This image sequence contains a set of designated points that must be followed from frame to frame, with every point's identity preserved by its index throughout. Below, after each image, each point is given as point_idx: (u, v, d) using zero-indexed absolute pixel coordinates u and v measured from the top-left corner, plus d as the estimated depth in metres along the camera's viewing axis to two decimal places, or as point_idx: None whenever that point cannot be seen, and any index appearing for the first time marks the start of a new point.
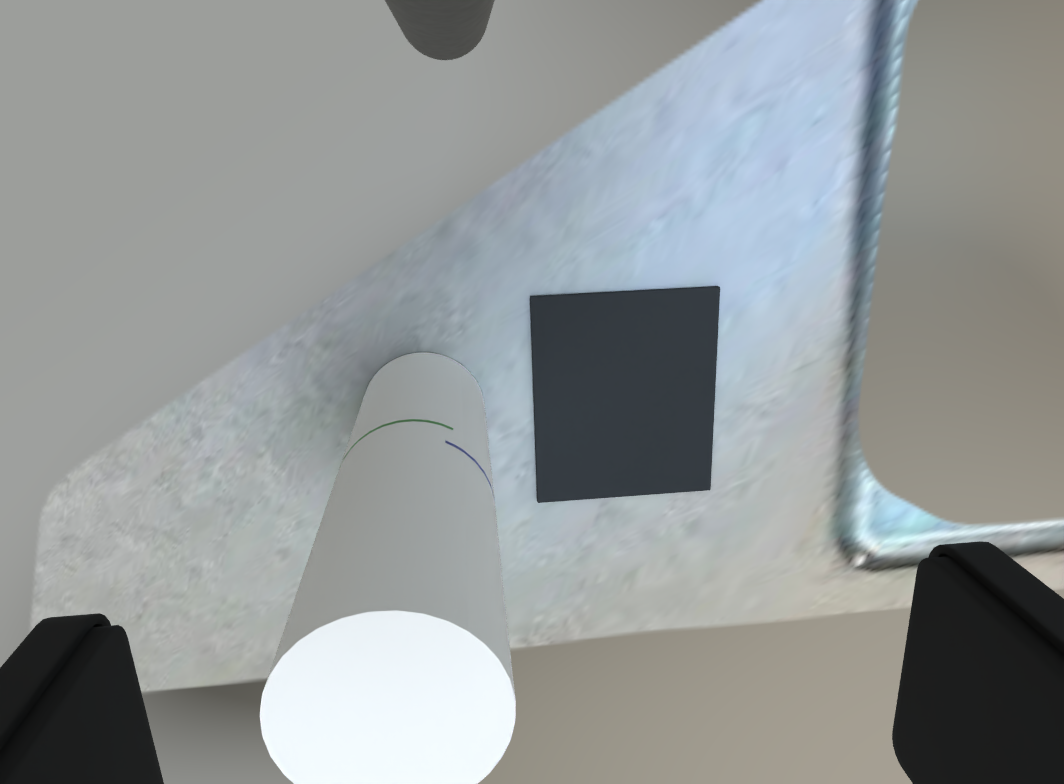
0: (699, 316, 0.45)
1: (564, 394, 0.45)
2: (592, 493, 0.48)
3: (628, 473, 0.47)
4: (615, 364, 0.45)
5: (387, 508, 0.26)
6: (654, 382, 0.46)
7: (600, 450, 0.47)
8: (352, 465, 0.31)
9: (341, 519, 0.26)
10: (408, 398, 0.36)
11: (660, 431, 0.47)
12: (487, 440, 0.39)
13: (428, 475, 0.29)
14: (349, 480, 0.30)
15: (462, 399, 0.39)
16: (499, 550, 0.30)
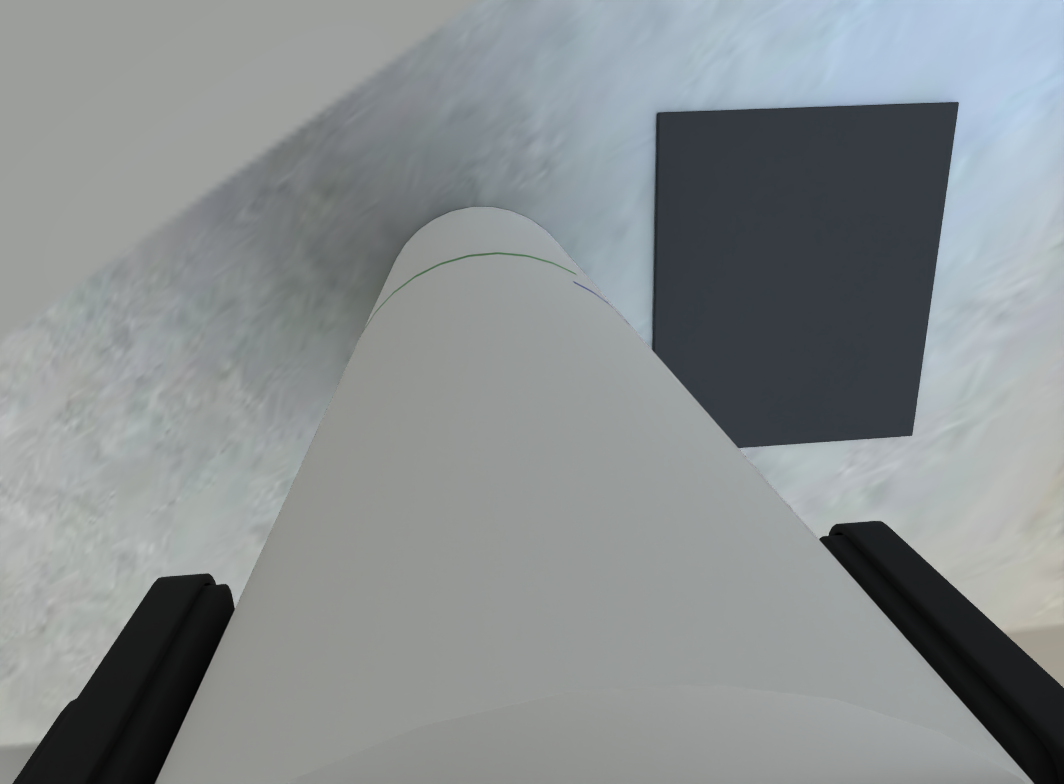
0: (922, 152, 0.28)
1: (704, 279, 0.29)
2: (736, 439, 0.31)
3: (792, 408, 0.31)
4: (786, 230, 0.28)
5: (498, 358, 0.09)
6: (843, 261, 0.29)
7: (752, 371, 0.30)
8: (385, 320, 0.15)
9: (371, 397, 0.10)
10: (479, 237, 0.20)
11: (846, 341, 0.30)
12: None
13: (572, 315, 0.12)
14: (382, 337, 0.13)
15: (566, 254, 0.22)
16: None
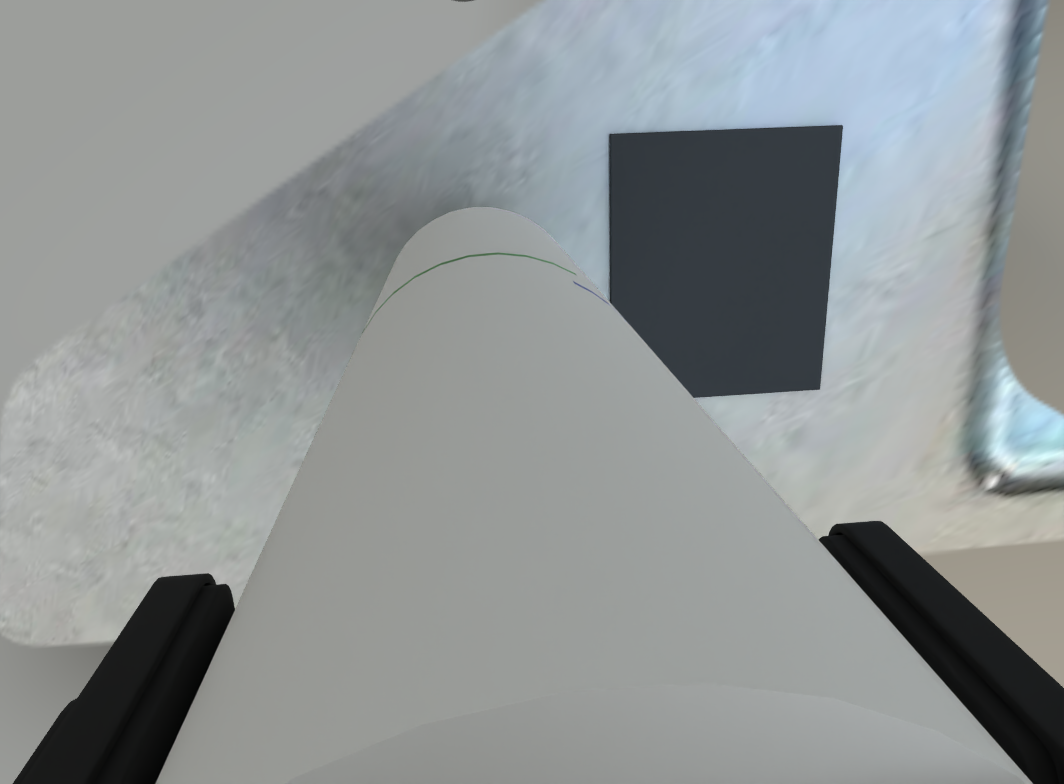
0: (816, 163, 0.36)
1: (648, 263, 0.37)
2: None
3: (722, 366, 0.39)
4: (712, 224, 0.37)
5: (498, 358, 0.09)
6: (758, 249, 0.37)
7: (689, 336, 0.38)
8: (385, 320, 0.15)
9: (370, 397, 0.10)
10: (479, 237, 0.20)
11: (763, 312, 0.38)
12: None
13: (571, 314, 0.12)
14: (382, 338, 0.13)
15: (566, 255, 0.22)
16: None
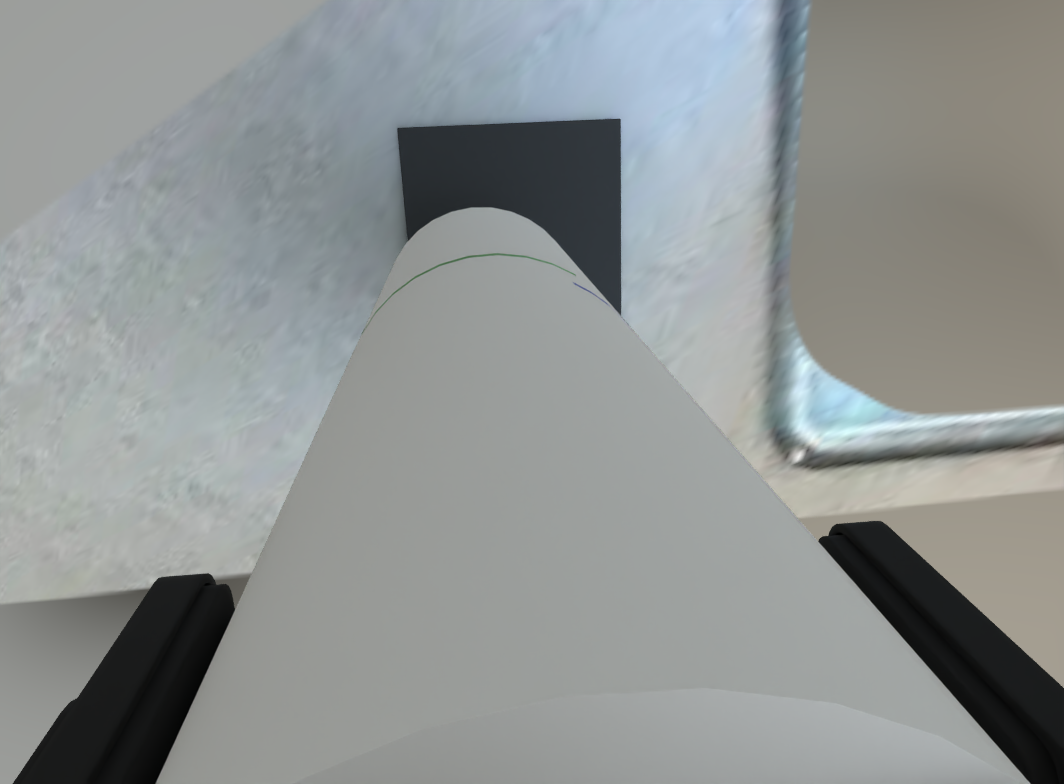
0: (598, 155, 0.38)
1: None
2: None
3: None
4: None
5: (497, 360, 0.09)
6: None
7: None
8: (385, 321, 0.15)
9: (370, 398, 0.10)
10: (479, 237, 0.20)
11: None
12: None
13: (571, 316, 0.12)
14: (381, 339, 0.13)
15: (566, 255, 0.22)
16: None
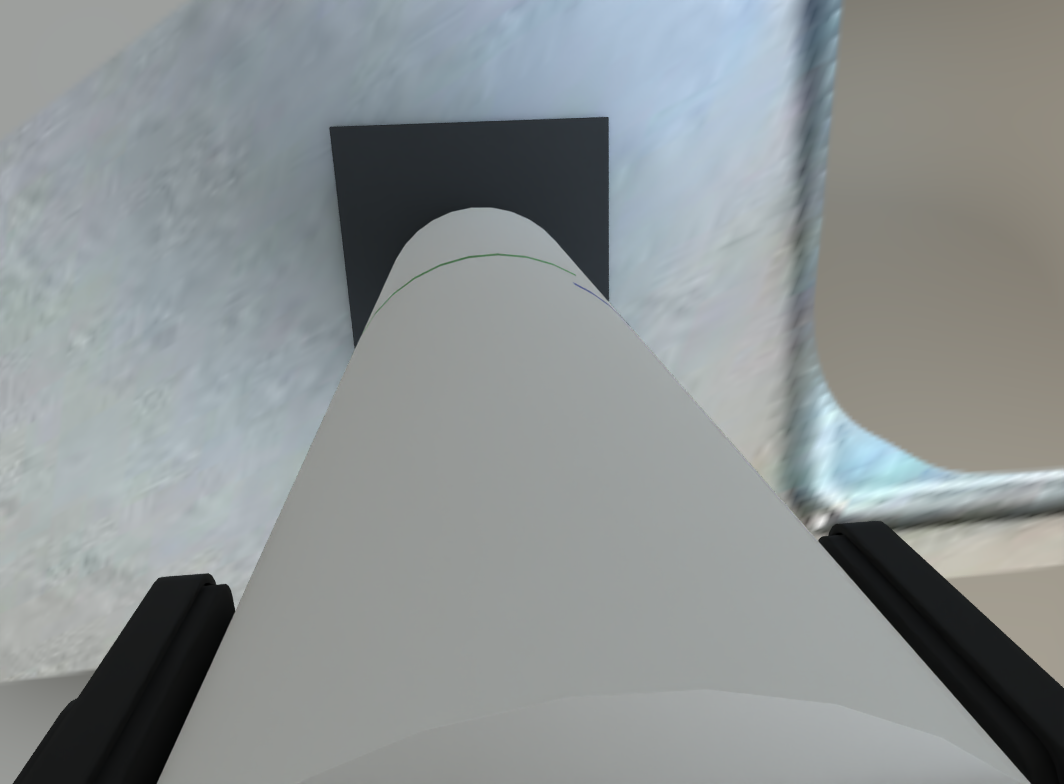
0: (580, 161, 0.31)
1: None
2: None
3: None
4: None
5: (499, 361, 0.09)
6: None
7: None
8: (385, 321, 0.15)
9: (371, 398, 0.10)
10: (479, 238, 0.20)
11: None
12: None
13: (571, 316, 0.12)
14: (382, 339, 0.13)
15: (566, 255, 0.22)
16: None
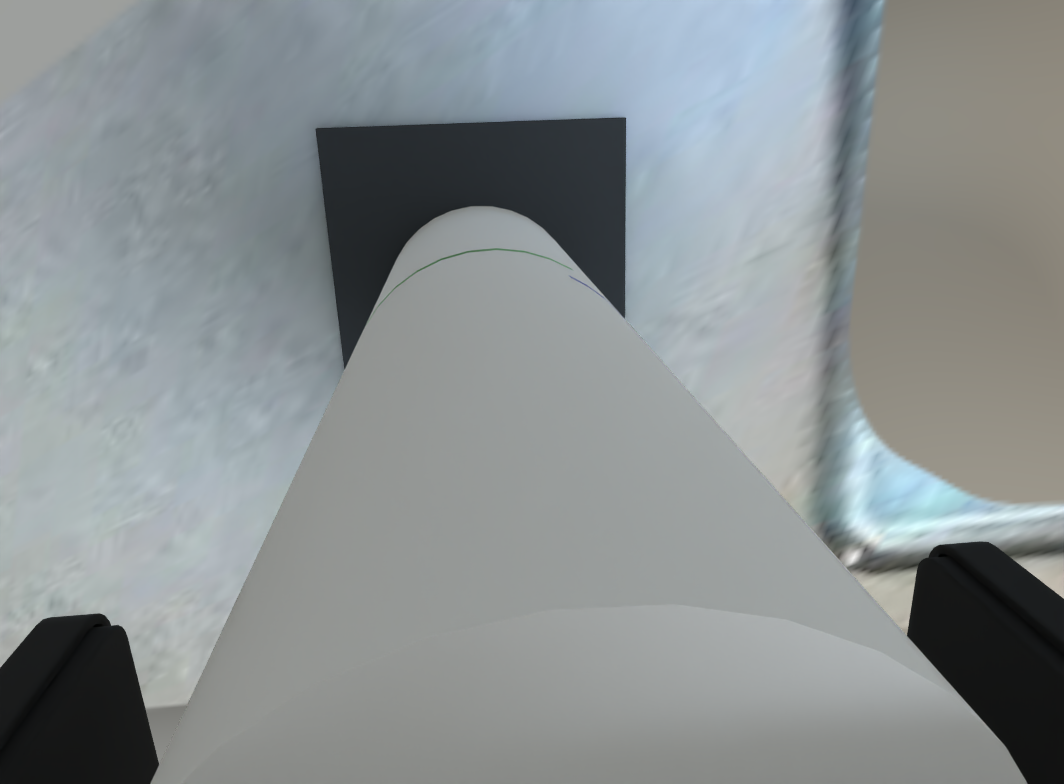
0: (594, 167, 0.28)
1: None
2: None
3: None
4: None
5: (496, 343, 0.10)
6: None
7: None
8: (388, 311, 0.15)
9: (375, 379, 0.10)
10: (478, 234, 0.20)
11: None
12: None
13: (566, 305, 0.13)
14: (385, 327, 0.14)
15: (563, 252, 0.23)
16: None
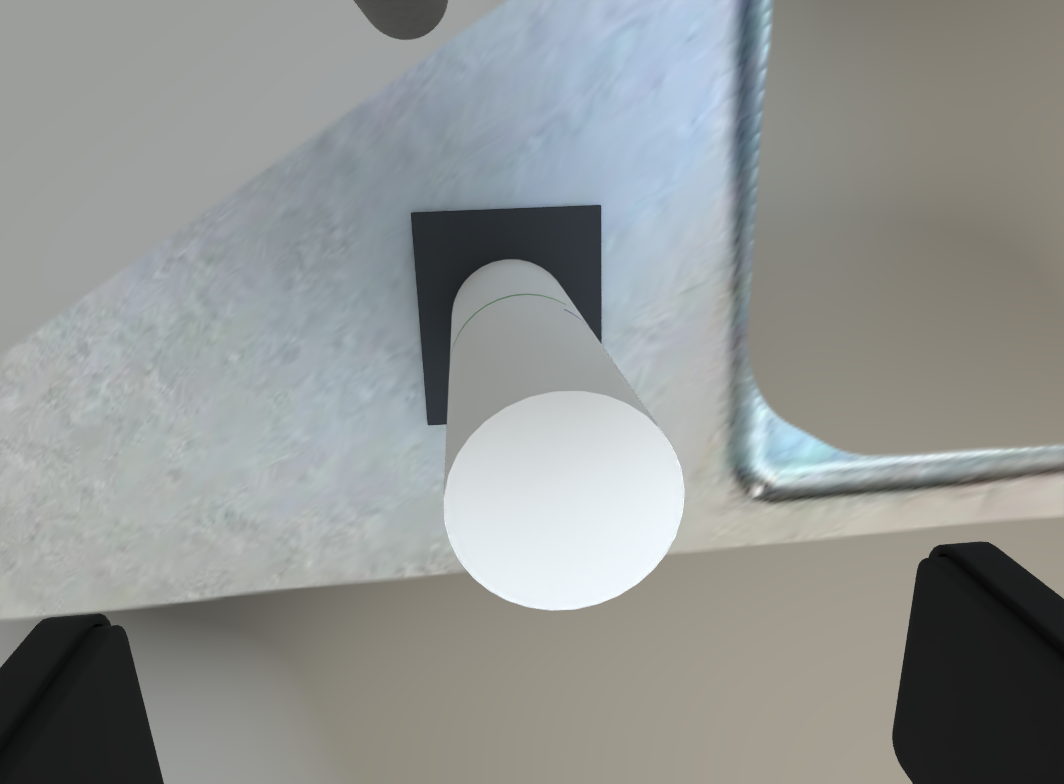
0: (581, 235, 0.45)
1: (450, 313, 0.46)
2: None
3: None
4: None
5: (535, 339, 0.27)
6: None
7: None
8: (478, 326, 0.32)
9: (488, 353, 0.27)
10: (515, 283, 0.37)
11: None
12: None
13: (561, 324, 0.30)
14: (481, 333, 0.31)
15: (561, 291, 0.40)
16: None
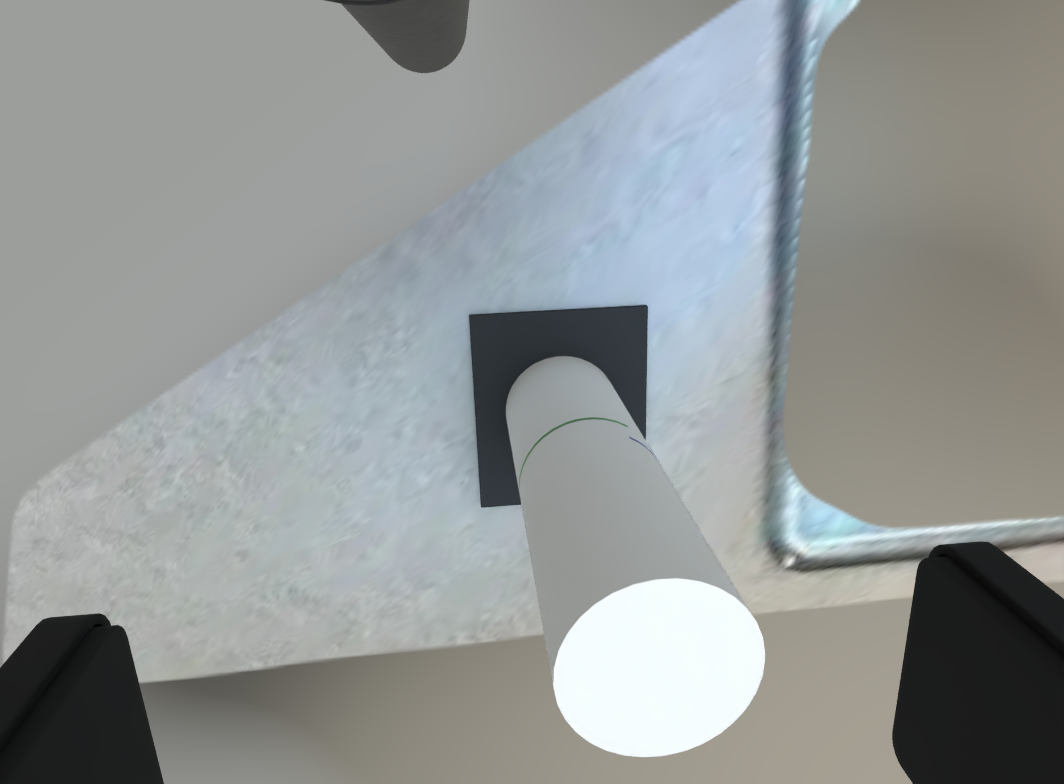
0: (629, 333, 0.48)
1: (504, 406, 0.48)
2: None
3: None
4: None
5: (617, 494, 0.30)
6: None
7: None
8: (552, 458, 0.35)
9: (574, 505, 0.30)
10: (576, 399, 0.40)
11: None
12: None
13: (634, 467, 0.32)
14: (558, 471, 0.33)
15: (616, 399, 0.42)
16: None
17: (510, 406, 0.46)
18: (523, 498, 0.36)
